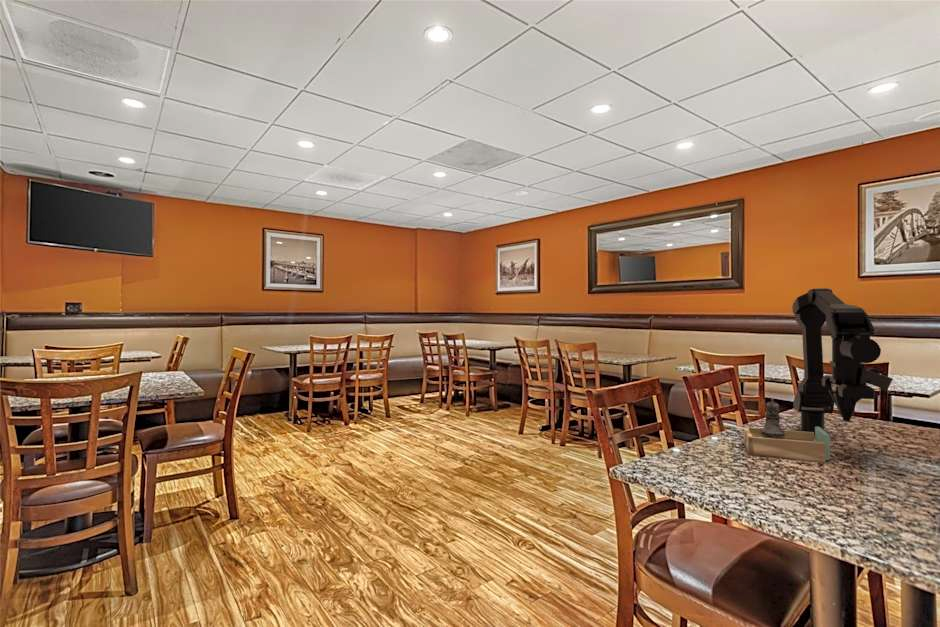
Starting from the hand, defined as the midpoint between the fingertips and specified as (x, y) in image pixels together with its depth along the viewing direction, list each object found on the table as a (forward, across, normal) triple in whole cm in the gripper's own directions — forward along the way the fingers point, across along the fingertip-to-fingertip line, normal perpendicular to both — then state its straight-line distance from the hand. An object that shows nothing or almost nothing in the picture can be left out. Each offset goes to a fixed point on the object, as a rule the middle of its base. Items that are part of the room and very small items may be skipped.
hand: (846, 420), depth 118 cm
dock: (+9, -2, +14) cm, 17 cm away
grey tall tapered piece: (+7, -1, +16) cm, 18 cm away
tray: (+9, -2, +13) cm, 15 cm away
